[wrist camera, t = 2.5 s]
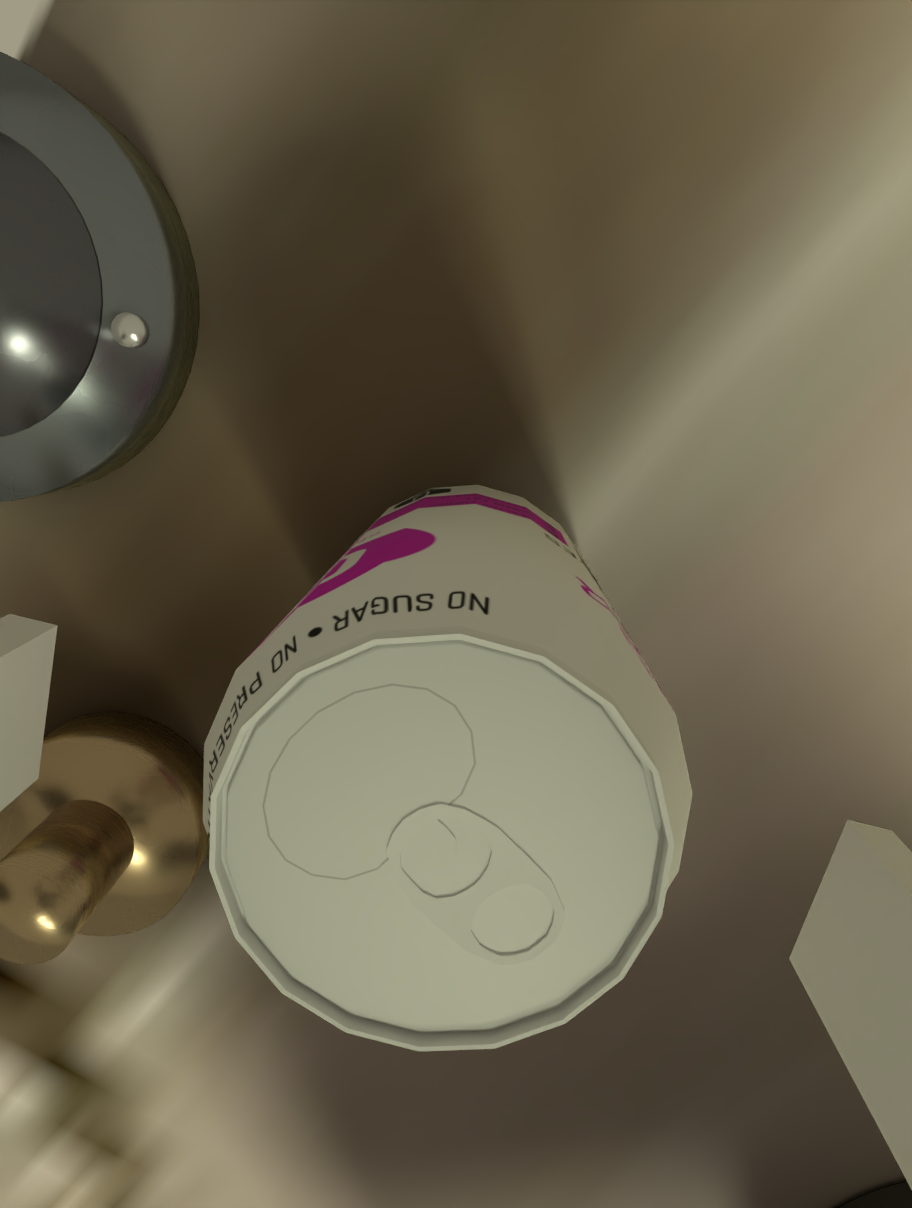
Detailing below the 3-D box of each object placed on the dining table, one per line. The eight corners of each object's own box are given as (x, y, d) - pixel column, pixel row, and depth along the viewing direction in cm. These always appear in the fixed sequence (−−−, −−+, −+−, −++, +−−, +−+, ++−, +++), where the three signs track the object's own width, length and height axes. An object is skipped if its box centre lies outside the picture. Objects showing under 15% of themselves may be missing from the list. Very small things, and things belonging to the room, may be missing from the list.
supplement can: (289, 607, 27) (58, 849, 12) (468, 427, 25) (441, 465, 11) (462, 771, 28) (435, 1168, 14) (644, 609, 27) (831, 864, 12)
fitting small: (236, 739, 28) (163, 837, 22) (201, 912, 30) (125, 1049, 24) (36, 690, 28) (-95, 774, 22) (13, 866, 30) (-114, 992, 23)
